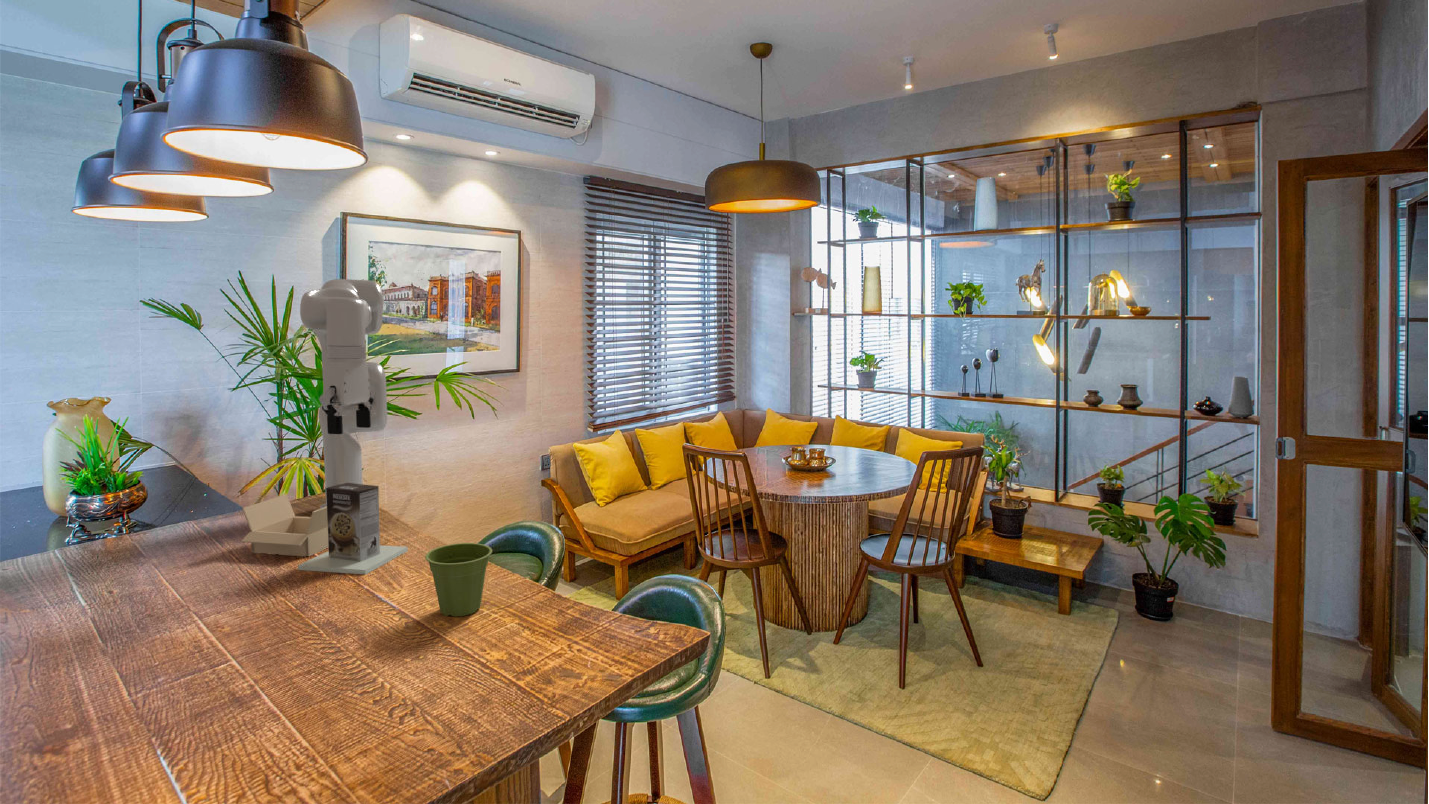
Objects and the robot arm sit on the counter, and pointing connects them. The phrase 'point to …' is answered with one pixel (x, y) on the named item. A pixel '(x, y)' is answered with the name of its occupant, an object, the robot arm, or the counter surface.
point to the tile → (352, 562)
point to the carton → (285, 529)
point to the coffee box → (353, 521)
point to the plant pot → (459, 576)
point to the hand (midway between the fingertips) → (349, 430)
